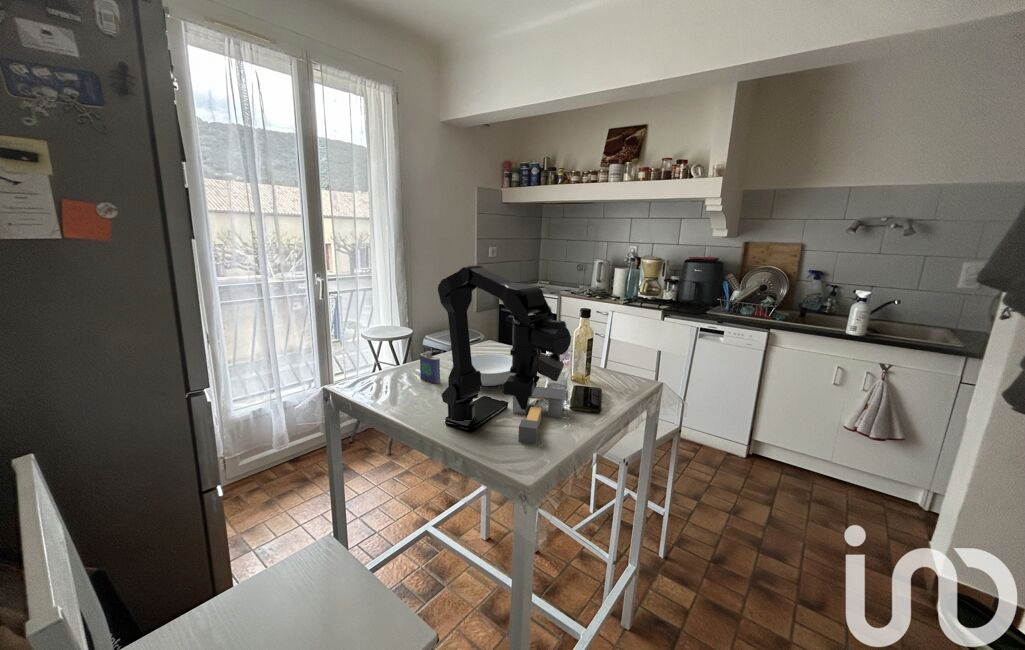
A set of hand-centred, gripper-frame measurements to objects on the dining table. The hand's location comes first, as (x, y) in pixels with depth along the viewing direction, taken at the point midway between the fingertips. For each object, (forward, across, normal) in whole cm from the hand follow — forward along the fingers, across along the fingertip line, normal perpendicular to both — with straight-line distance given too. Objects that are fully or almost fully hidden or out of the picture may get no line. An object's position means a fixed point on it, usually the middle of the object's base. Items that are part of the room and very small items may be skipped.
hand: (523, 409), depth 93 cm
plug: (+12, +13, 0) cm, 18 cm away
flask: (+12, +38, +40) cm, 56 cm away
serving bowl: (+12, +43, +20) cm, 49 cm away
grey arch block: (+12, +24, 0) cm, 27 cm away
